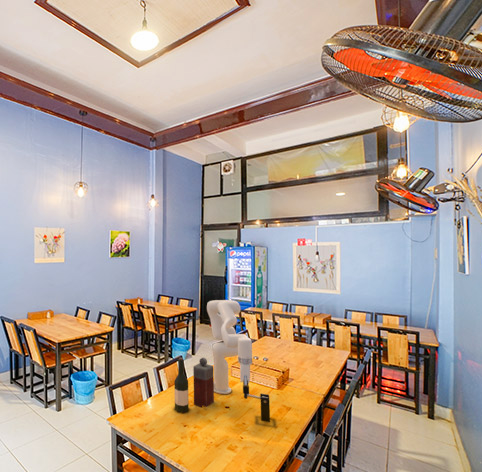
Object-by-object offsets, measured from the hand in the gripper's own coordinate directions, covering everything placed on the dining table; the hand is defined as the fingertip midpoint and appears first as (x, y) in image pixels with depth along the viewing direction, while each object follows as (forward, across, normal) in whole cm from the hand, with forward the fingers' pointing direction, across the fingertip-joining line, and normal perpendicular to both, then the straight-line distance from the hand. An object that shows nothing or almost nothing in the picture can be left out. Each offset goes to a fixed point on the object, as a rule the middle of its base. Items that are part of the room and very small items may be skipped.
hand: (246, 393), depth 176 cm
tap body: (+14, 0, +10) cm, 17 cm away
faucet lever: (+3, 0, +5) cm, 6 cm away
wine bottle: (+14, +3, -36) cm, 39 cm away
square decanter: (+14, -9, -24) cm, 30 cm away
